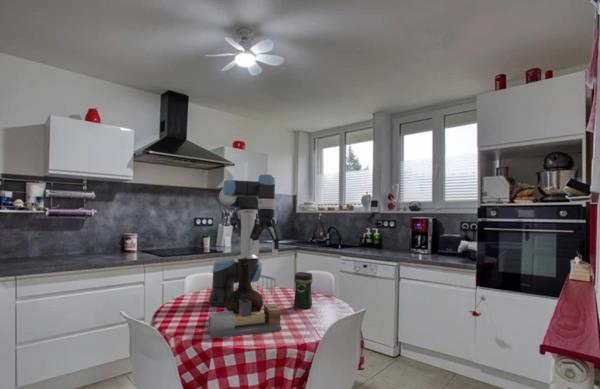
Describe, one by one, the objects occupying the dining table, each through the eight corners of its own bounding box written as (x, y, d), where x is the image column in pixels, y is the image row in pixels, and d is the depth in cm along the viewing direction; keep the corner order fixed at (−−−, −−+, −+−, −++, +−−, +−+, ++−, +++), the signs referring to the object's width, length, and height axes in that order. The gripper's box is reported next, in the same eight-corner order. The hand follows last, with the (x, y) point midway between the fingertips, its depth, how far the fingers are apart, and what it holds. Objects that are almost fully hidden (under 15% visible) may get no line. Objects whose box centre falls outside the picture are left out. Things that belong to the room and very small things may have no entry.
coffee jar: (313, 305, 187) (314, 272, 188) (308, 309, 180) (309, 274, 180) (297, 303, 190) (298, 270, 191) (291, 307, 183) (292, 272, 184)
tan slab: (214, 323, 146) (215, 300, 147) (261, 319, 154) (262, 297, 155) (216, 328, 141) (217, 304, 141) (265, 323, 149) (266, 300, 149)
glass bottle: (268, 313, 172) (270, 257, 173) (251, 324, 155) (253, 262, 156) (237, 308, 178) (239, 255, 179) (218, 318, 161) (220, 259, 162)
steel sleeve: (208, 327, 145) (209, 312, 146) (231, 324, 149) (232, 310, 149) (210, 332, 140) (210, 317, 140) (234, 329, 144) (235, 315, 144)
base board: (207, 328, 148) (207, 324, 148) (272, 321, 160) (273, 318, 160) (211, 338, 137) (211, 334, 137) (281, 330, 148) (281, 326, 149)
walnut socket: (263, 320, 156) (264, 304, 157) (274, 319, 158) (274, 303, 159) (269, 326, 148) (270, 310, 148) (280, 325, 150) (280, 309, 150)
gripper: (243, 208, 161) (242, 254, 159) (277, 207, 143) (276, 258, 141) (256, 209, 166) (254, 253, 164) (290, 208, 148) (290, 257, 147)
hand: (265, 255), depth 153 cm, fingers open, 13 cm apart
